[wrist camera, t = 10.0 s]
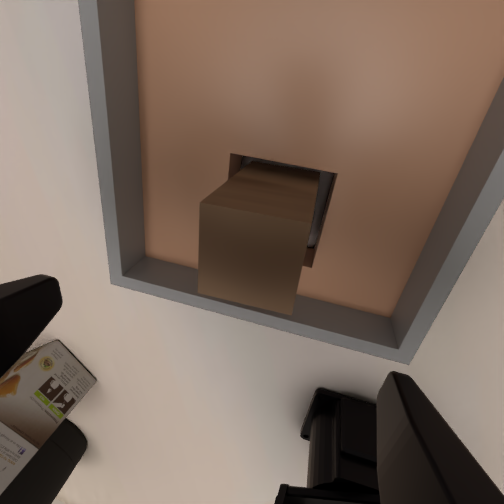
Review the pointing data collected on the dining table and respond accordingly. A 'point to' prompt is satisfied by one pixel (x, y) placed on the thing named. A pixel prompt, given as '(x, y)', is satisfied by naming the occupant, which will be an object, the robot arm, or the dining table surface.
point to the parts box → (304, 146)
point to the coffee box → (36, 403)
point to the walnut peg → (257, 235)
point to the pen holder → (47, 468)
